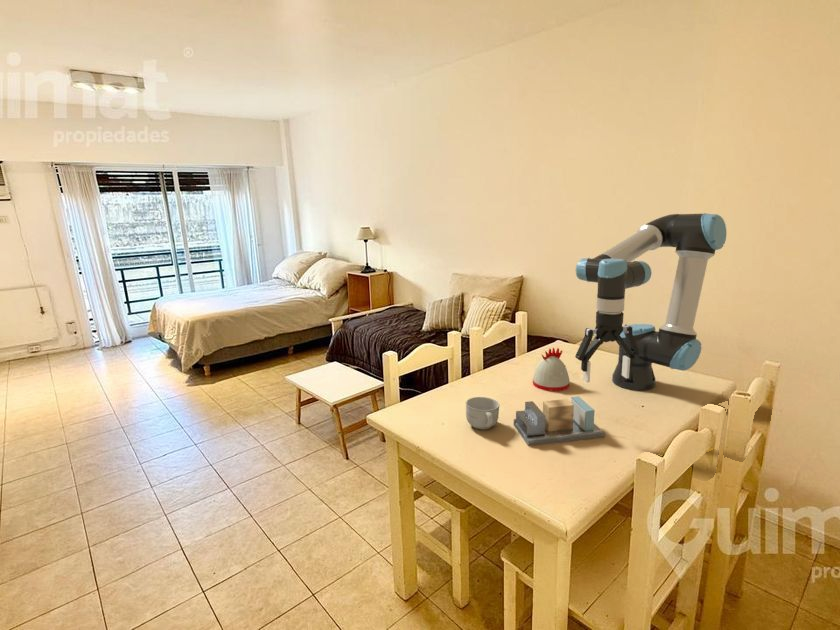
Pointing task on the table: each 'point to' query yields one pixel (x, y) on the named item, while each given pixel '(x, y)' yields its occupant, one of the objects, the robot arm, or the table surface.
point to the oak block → (558, 414)
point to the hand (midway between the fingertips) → (605, 378)
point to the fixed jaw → (531, 420)
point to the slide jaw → (583, 414)
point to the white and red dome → (551, 373)
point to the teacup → (482, 412)
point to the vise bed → (562, 435)
